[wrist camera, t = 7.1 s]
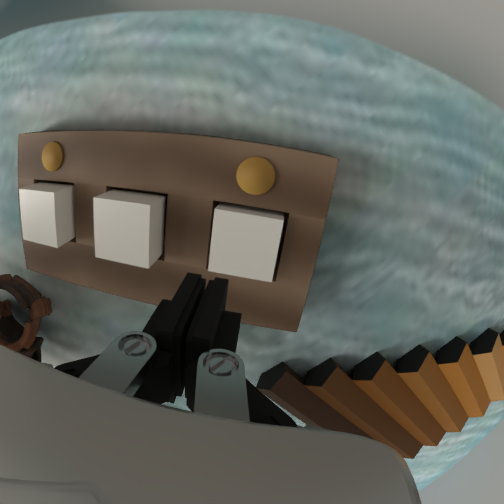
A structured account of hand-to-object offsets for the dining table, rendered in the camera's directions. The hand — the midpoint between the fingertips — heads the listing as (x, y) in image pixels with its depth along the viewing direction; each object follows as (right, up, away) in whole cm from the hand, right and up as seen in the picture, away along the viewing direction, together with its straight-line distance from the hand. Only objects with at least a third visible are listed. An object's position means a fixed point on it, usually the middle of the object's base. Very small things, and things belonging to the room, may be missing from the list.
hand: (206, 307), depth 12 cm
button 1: (+2, +4, +8) cm, 9 cm away
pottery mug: (-24, -5, +16) cm, 29 cm away
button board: (-6, +5, +10) cm, 12 cm away
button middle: (-6, +4, +7) cm, 10 cm away
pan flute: (+20, -10, +14) cm, 26 cm away
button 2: (-13, +6, +7) cm, 16 cm away
